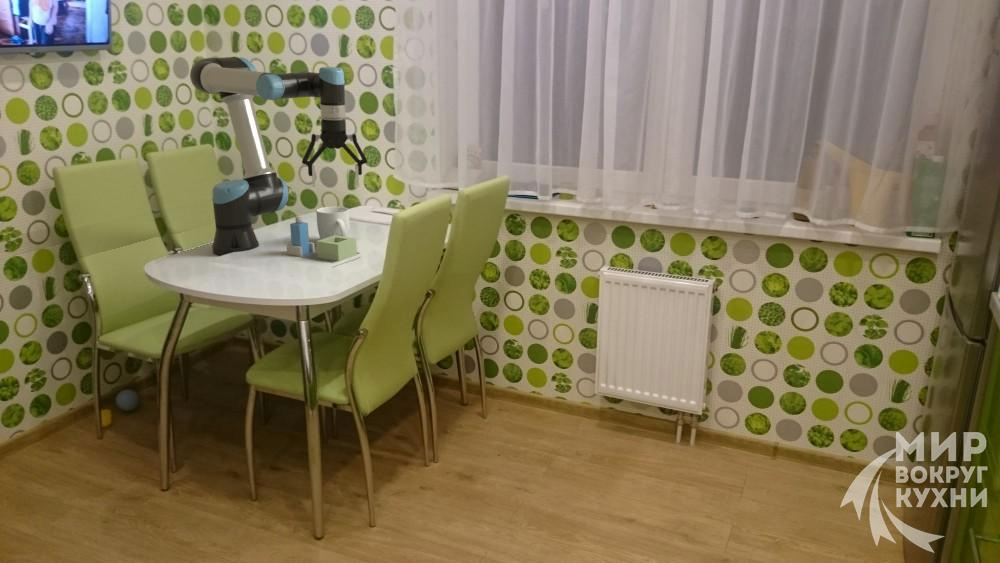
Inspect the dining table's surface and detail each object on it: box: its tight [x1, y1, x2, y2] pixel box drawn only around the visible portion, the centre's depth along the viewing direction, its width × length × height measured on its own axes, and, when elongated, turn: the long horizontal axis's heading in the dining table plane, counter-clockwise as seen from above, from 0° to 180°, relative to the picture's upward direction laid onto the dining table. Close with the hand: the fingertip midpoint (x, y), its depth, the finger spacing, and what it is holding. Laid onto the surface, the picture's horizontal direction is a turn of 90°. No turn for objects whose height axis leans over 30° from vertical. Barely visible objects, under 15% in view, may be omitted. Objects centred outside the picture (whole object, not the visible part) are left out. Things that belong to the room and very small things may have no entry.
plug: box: [289, 216, 310, 254], centre depth 266 cm, size 4×4×12 cm
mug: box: [316, 206, 350, 240], centre depth 278 cm, size 15×11×13 cm
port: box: [316, 235, 358, 262], centre depth 263 cm, size 9×9×6 cm
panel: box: [285, 241, 361, 268], centre depth 266 cm, size 20×14×4 cm
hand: (335, 185), depth 259 cm, fingers open, 13 cm apart
